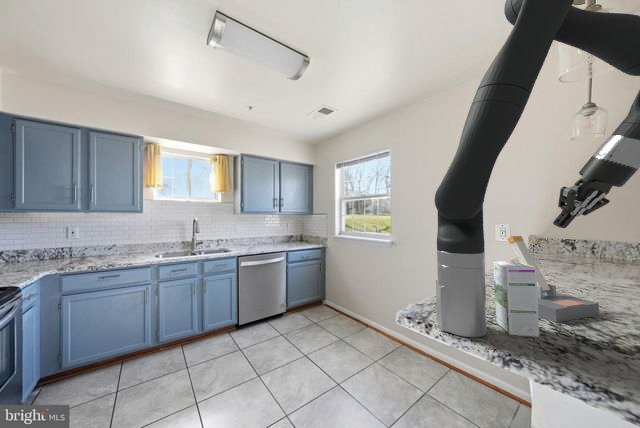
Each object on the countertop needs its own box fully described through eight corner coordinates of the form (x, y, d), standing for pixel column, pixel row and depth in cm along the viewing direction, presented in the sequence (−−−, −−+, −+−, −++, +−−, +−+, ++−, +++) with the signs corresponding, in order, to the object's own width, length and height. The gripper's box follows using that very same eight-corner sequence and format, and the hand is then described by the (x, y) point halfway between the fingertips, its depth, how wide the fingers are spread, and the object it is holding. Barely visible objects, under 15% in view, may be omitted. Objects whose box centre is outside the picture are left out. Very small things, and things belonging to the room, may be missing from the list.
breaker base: (498, 301, 69) (497, 280, 69) (535, 296, 72) (535, 276, 72) (555, 322, 55) (555, 296, 55) (598, 315, 58) (598, 290, 58)
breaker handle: (535, 293, 64) (506, 238, 71) (545, 292, 65) (515, 238, 72) (542, 292, 62) (512, 236, 70) (552, 291, 63) (521, 235, 71)
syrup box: (540, 337, 49) (538, 266, 49) (508, 335, 50) (506, 265, 50) (523, 324, 54) (521, 261, 54) (493, 323, 55) (492, 260, 55)
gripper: (615, 159, 47) (553, 230, 55) (657, 173, 50) (593, 238, 58) (576, 149, 54) (525, 214, 62) (615, 162, 57) (562, 222, 65)
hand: (558, 226), depth 60 cm, fingers closed
